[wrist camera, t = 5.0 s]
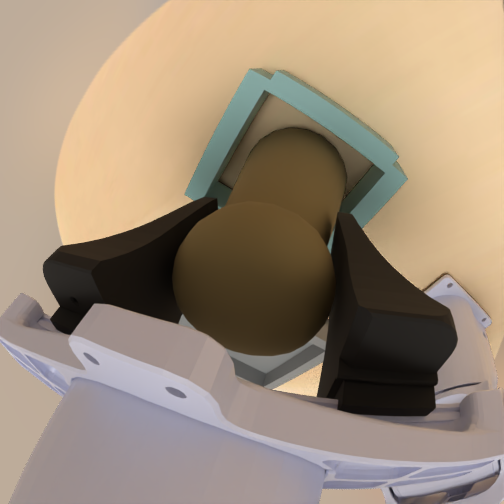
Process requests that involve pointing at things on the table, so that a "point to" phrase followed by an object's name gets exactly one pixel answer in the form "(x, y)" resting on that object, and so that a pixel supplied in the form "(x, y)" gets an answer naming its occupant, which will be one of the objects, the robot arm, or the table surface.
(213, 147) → the teal collar
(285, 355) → the charcoal tray
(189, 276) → the cork
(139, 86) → the table surface
